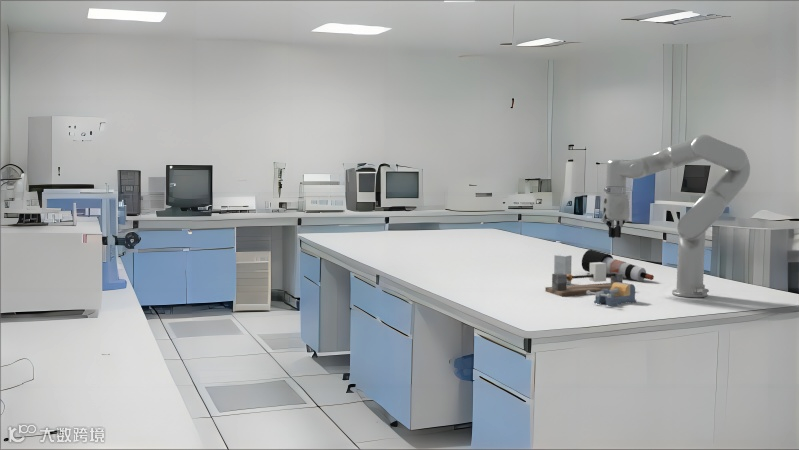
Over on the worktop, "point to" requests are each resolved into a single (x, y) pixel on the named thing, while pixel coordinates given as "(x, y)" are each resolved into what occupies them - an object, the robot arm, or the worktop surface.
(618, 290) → the vise
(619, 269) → the cable
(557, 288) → the cord rack
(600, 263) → the sleeve
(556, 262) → the skincare box
